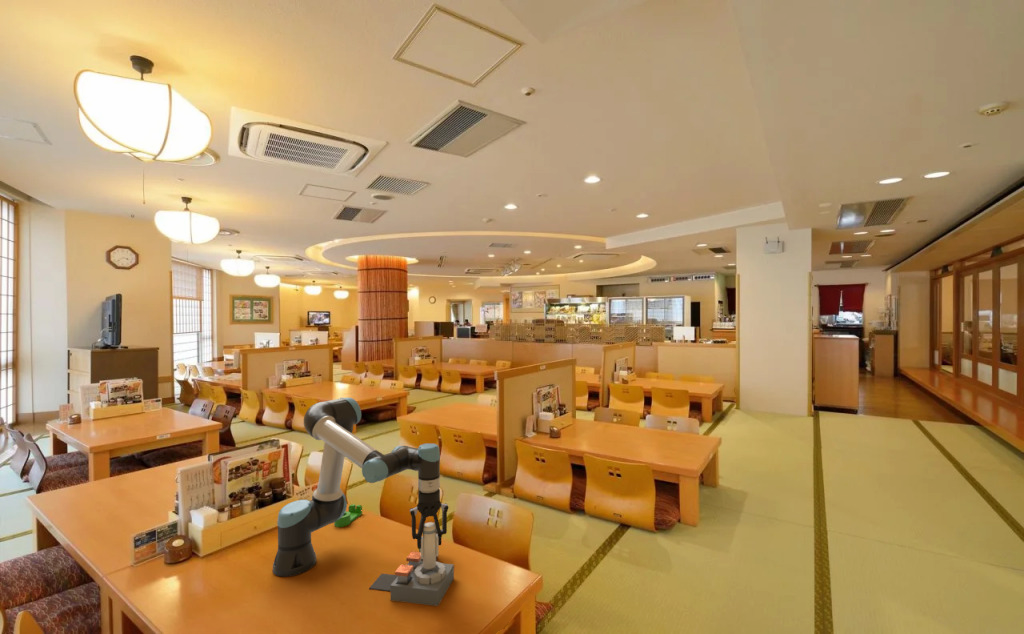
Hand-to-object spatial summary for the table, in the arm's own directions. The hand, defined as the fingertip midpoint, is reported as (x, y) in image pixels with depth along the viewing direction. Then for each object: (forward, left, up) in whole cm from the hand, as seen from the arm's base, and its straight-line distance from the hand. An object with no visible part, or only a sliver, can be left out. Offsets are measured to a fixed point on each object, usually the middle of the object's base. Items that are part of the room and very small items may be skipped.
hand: (429, 555), depth 153 cm
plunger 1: (-7, -5, -10) cm, 13 cm away
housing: (-3, 0, -12) cm, 12 cm away
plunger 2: (-7, +4, -9) cm, 13 cm away
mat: (-17, +1, -12) cm, 21 cm away
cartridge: (0, 0, -3) cm, 3 cm away
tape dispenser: (-60, +45, -12) cm, 76 cm away
